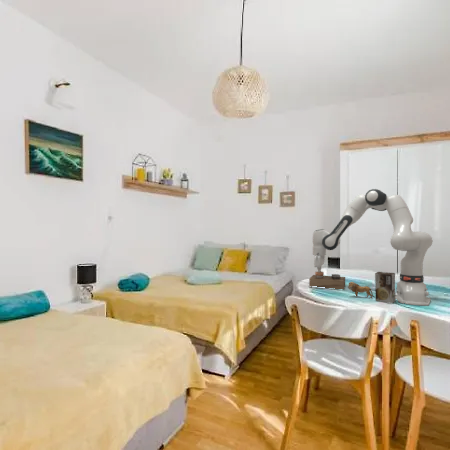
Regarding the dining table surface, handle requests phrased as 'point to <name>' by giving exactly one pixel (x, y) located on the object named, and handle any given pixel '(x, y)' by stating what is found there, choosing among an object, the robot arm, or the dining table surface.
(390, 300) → the coffee box
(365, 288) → the lion figurine
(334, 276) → the plunger grey
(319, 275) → the plunger terracotta
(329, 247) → the robot arm
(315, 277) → the press block
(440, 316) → the dining table surface
